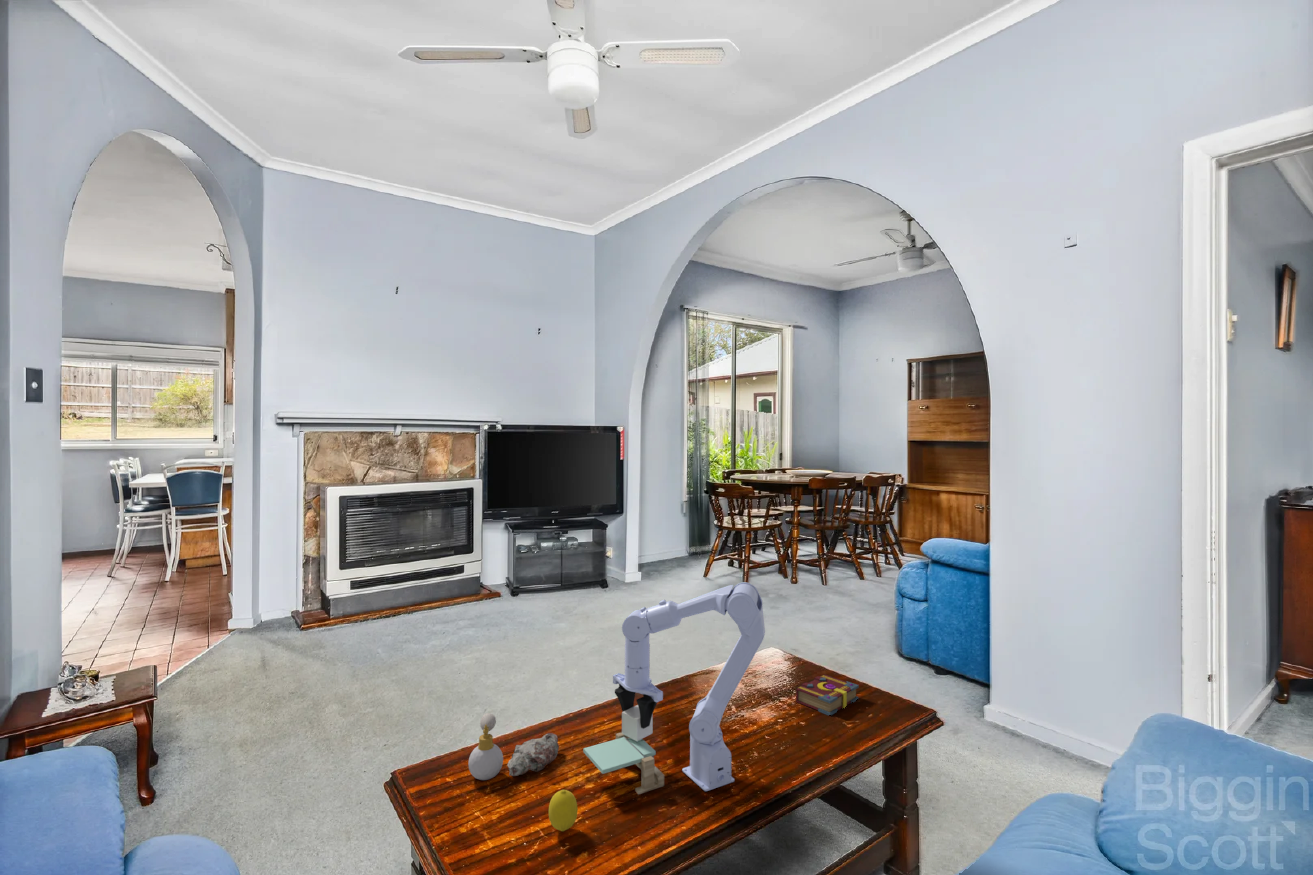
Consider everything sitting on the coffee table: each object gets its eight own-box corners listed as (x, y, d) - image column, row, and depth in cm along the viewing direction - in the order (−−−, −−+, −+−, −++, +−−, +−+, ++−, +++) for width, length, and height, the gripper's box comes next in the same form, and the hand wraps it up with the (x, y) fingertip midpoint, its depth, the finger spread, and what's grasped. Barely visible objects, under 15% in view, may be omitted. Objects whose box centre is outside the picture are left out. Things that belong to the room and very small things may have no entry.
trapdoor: (659, 763, 137) (659, 753, 137) (603, 781, 130) (603, 770, 130) (636, 742, 146) (636, 732, 146) (582, 757, 139) (582, 747, 139)
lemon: (578, 821, 123) (578, 781, 123) (575, 840, 118) (576, 798, 118) (550, 821, 123) (550, 781, 123) (546, 840, 118) (546, 798, 118)
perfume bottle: (473, 789, 134) (473, 734, 133) (461, 768, 142) (461, 716, 142) (507, 779, 138) (507, 725, 137) (494, 759, 146) (494, 708, 146)
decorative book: (794, 703, 177) (795, 685, 176) (826, 687, 188) (826, 670, 187) (830, 717, 168) (830, 699, 168) (860, 699, 179) (861, 682, 179)
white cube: (652, 733, 144) (652, 711, 144) (636, 741, 140) (636, 719, 140) (637, 725, 147) (637, 704, 147) (621, 733, 144) (621, 712, 144)
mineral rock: (515, 784, 136) (515, 764, 136) (497, 769, 142) (497, 750, 142) (571, 760, 146) (571, 741, 146) (551, 747, 152) (552, 729, 152)
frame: (664, 785, 136) (664, 755, 136) (638, 794, 132) (638, 763, 132) (634, 756, 148) (634, 728, 147) (609, 763, 144) (609, 735, 144)
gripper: (672, 667, 141) (671, 727, 141) (628, 651, 151) (627, 706, 151) (650, 677, 136) (649, 738, 136) (606, 659, 146) (605, 716, 146)
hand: (636, 722), depth 144 cm, fingers closed on white cube, 5 cm apart
